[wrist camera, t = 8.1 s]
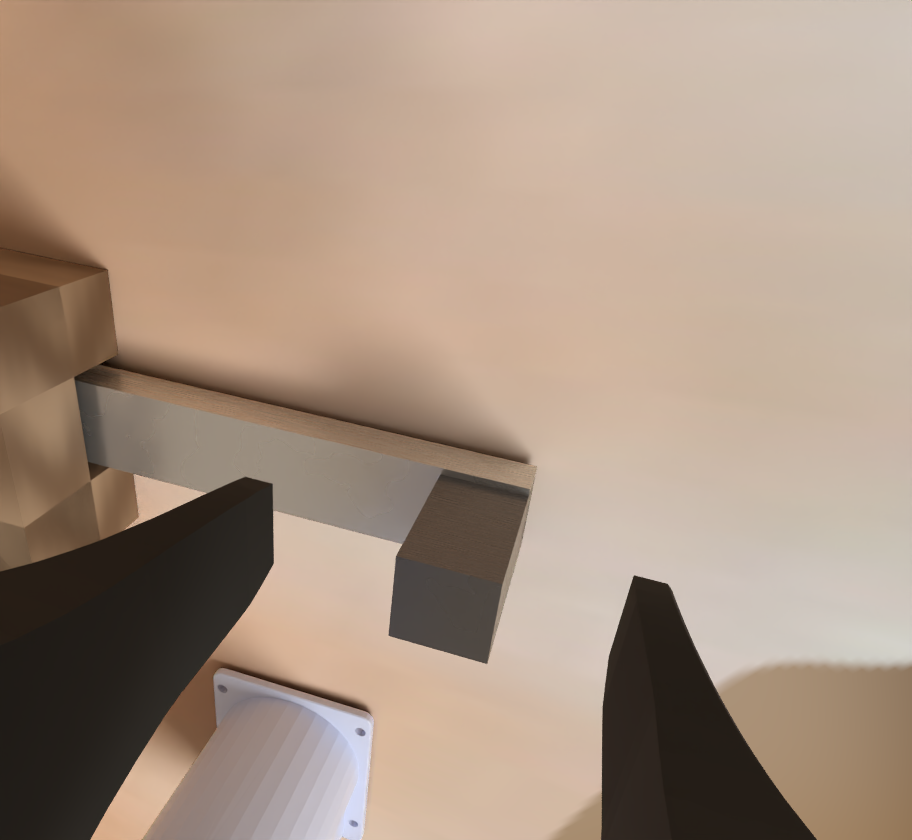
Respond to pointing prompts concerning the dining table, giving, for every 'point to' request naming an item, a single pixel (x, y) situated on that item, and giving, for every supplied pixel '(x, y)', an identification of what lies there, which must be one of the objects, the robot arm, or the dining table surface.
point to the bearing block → (53, 410)
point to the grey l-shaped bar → (335, 490)
